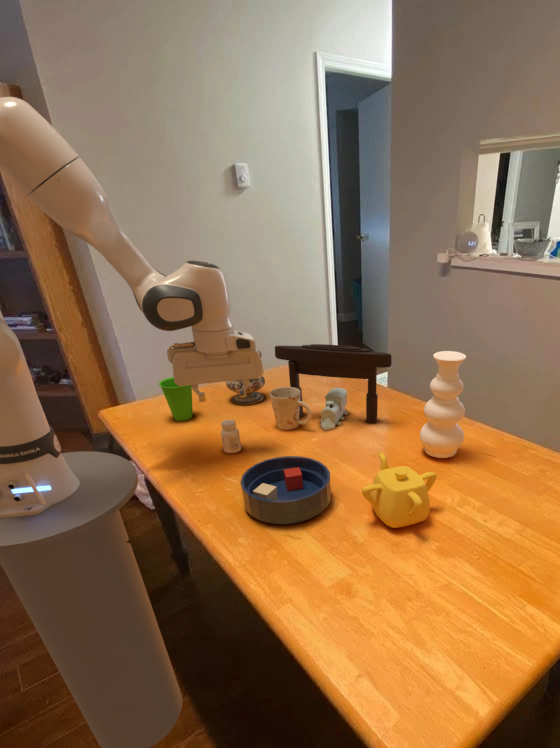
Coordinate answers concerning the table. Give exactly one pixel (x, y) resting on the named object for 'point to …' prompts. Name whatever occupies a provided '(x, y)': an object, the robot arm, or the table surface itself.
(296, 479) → the red block
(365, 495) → the teapot
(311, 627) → the table surface
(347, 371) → the stool
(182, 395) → the cup
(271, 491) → the cream block
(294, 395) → the mug
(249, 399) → the apothecary jar
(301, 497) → the bowl
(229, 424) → the pill bottle
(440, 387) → the vase
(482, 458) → the table surface
